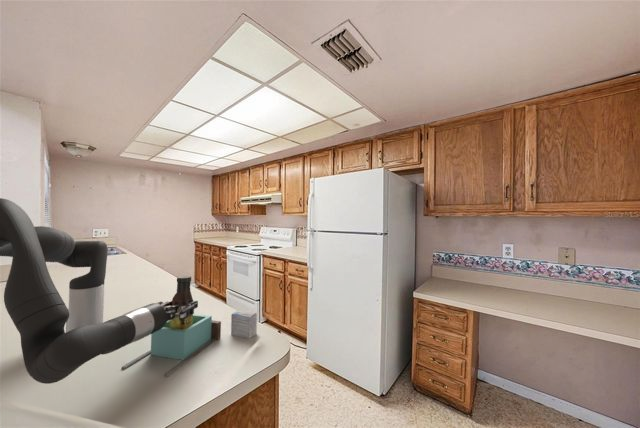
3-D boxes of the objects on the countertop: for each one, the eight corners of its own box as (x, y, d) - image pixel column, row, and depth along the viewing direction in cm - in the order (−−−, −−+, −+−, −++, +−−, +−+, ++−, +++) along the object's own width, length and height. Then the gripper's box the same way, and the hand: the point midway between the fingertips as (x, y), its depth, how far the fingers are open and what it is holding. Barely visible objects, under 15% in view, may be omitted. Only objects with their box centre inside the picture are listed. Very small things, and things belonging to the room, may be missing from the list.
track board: (118, 373, 67) (119, 347, 68) (180, 336, 89) (180, 316, 89) (169, 382, 64) (169, 355, 64) (220, 342, 86) (220, 321, 86)
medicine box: (256, 336, 90) (257, 312, 90) (249, 342, 86) (250, 316, 86) (238, 333, 93) (239, 309, 93) (230, 338, 88) (231, 313, 89)
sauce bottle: (181, 346, 75) (184, 279, 75) (163, 344, 76) (166, 278, 77) (196, 337, 81) (199, 275, 82) (179, 335, 82) (182, 274, 83)
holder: (150, 354, 74) (151, 327, 75) (181, 336, 87) (182, 312, 87) (183, 359, 72) (184, 332, 72) (211, 339, 84) (211, 316, 84)
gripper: (165, 310, 64) (207, 292, 80) (119, 305, 67) (169, 289, 83) (163, 340, 63) (206, 316, 80) (117, 334, 66) (168, 312, 83)
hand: (187, 302), depth 81 cm, fingers closed on sauce bottle, 6 cm apart
